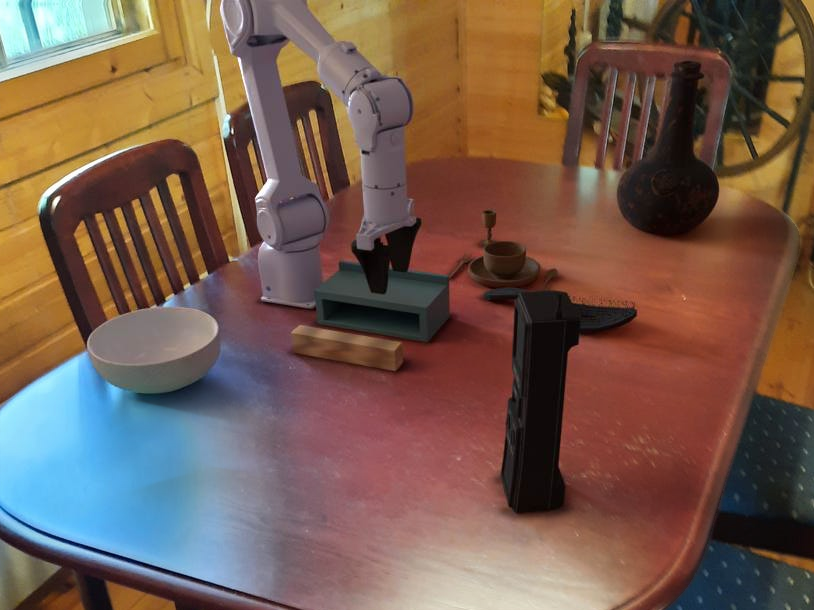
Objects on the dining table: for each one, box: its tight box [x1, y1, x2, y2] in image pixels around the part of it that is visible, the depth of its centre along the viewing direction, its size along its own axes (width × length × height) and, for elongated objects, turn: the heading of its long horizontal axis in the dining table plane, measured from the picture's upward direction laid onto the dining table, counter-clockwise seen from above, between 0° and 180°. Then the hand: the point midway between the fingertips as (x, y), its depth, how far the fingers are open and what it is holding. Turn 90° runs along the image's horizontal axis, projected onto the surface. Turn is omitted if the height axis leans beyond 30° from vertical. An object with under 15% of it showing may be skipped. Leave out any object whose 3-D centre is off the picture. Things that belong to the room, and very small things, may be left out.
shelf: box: [314, 259, 451, 343], centre depth 128 cm, size 18×9×7 cm, turn 68°
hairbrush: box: [483, 287, 638, 334], centre depth 129 cm, size 8×4×25 cm
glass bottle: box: [616, 60, 720, 236], centre depth 150 cm, size 18×18×28 cm
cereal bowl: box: [86, 306, 222, 394], centre depth 115 cm, size 17×17×7 cm
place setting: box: [449, 209, 559, 291], centre depth 143 cm, size 18×20×6 cm
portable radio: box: [500, 289, 581, 514], centre depth 88 cm, size 8×6×25 cm
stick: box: [290, 324, 404, 372], centre depth 120 cm, size 16×3×3 cm, turn 68°
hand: (389, 281), depth 118 cm, fingers open, 7 cm apart
